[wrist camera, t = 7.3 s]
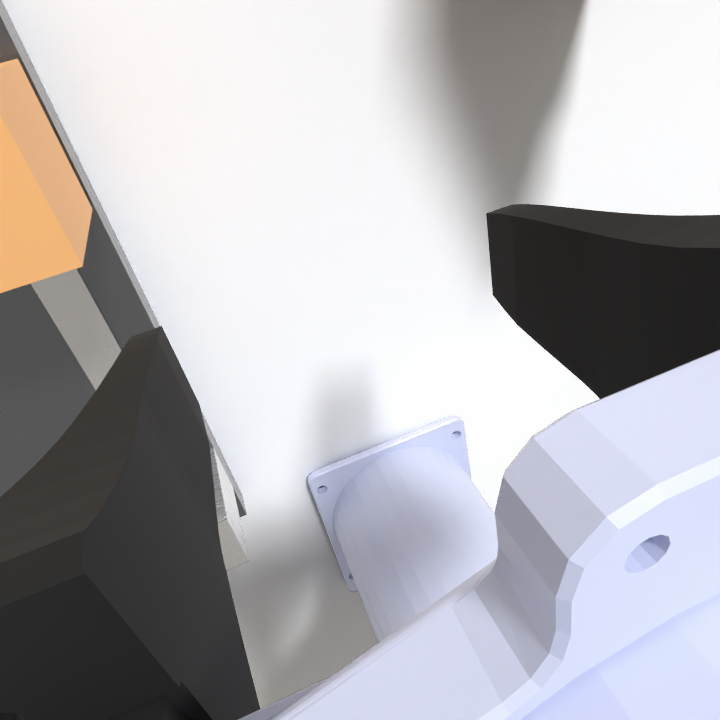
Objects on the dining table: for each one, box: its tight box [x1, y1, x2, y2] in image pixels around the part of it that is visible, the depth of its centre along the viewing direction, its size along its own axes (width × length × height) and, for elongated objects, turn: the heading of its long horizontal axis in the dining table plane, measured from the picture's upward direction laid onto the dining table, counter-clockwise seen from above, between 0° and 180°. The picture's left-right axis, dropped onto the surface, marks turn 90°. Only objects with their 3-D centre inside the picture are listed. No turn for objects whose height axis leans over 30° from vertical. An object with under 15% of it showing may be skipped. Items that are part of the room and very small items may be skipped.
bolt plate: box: [0, 0, 249, 571], centre depth 17 cm, size 21×9×6 cm, turn 13°
